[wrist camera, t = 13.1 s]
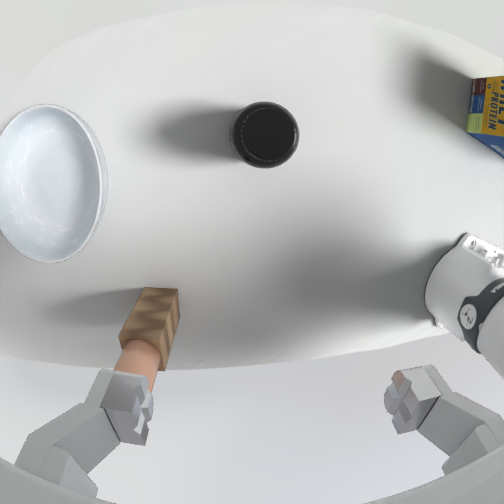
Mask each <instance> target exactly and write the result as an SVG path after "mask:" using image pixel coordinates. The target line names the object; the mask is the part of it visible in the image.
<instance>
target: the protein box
mask: <svg viewBox="0 0 504 504" xmlns="http://www.w3.org/2000/svg"><path fill="white" fill-rule="evenodd" d="M466 132H467V133H468V134H470V135H471V136H473V137H475V138H476V139H478V140H479V141H481V142H482V143H484V144H485V145H487V146H488V147H489V148H491V149H492V150H494V151H495V152H496V153H498V154H499V155H500V156H502V157H503V158H504V76H496V77H486V78H477V79H473V81H472V91H471V100H470V108H469V115H468V121H467V127H466Z"/></svg>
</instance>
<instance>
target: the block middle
mask: <svg viewBox="0 0 504 504" xmlns="http://www.w3.org/2000/svg"><path fill="white" fill-rule="evenodd" d="M129 317H138V318H150V319H164V320H166V321H167V330H168V337H169V345H170V350H171V347H172V343H173V340H174V336H175V325H174V315H173V304H172V303H166V302H150V301H137V302H136V304H135V306H134V308H133V309H132V311H131V313H130V315H129Z"/></svg>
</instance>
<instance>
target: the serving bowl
mask: <svg viewBox="0 0 504 504" xmlns="http://www.w3.org/2000/svg"><path fill="white" fill-rule="evenodd" d="M107 191H108V173H107V165H106V160H105V156H104V153H103V150H102V147H101V145H100V142H99V140H98V138H97V137H96V135H95V133H94V132H93V130H92V129H91V128H90V126H89V125H88V124H87V123H86V122H85V121H84V120H83V119H82V118H81V117H79V116H78V115H77V114H75V113H74V112H72V111H70V110H68V109H66V108H63V107H60V106H58V105H52V104H40V105H35V106H32V107H30V108H27V109H25V110H24V111H22V112H21V113H19V114H18V115H17V116H15V117H14V118H13V119H12V120H11V121H10V122H9V124H8V125H7V126H6V128H5V129H4V130H3V132H2V134H1V135H0V230H1V232H2V233H3V235H4V236H5V238H6V239H7V240H8V242H9V243H10V244H11V245H12V246H13V247H14V248H15V249H16V250H17V251H18V252H20V253H21V254H22V255H24V256H25V257H27V258H29V259H31V260H34V261H37V262H40V263H49V264H50V263H58V262H62V261H65V260H67V259H69V258H71V257H73V256H74V255H76V254H77V253H78V252H79V251H80V250H81V249H82V248H83V247H84V246H85V245H86V244H87V242H88V241H89V240H90V238H91V237H92V235H93V234H94V232H95V230H96V229H97V227H98V225H99V222H100V220H101V218H102V215H103V212H104V208H105V204H106V199H107Z"/></svg>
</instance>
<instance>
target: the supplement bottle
mask: <svg viewBox="0 0 504 504" xmlns="http://www.w3.org/2000/svg"><path fill="white" fill-rule="evenodd" d="M230 141H231V145H232V148H233V150H234V152H235V153H236V154H237V156H238V157H239V158H240V159H241V160H242V161H244V162H245V163H247V164H249V165H251V166H253V167H257V168H273V167H277V166H279V165H281V164H283V163H285V162H286V161H287V160H289V159H290V158H291V156H292V155H293V154H294V152H295V150H296V148H297V146H298V142H299V129H298V125H297V122H296V120H295V118H294V117H293V115H292V114H291V113H290V112H289V111H288V110H287V109H285V108H284V107H282V106H281V105H278V104H276V103H272V102H256V103H253V104H250V105H248V106H246V107H245V108H243V109H242V110H241V111H240V112H239V113H238V114H237V115H236V117H235V118H234V120H233V122H232V125H231V128H230Z"/></svg>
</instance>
